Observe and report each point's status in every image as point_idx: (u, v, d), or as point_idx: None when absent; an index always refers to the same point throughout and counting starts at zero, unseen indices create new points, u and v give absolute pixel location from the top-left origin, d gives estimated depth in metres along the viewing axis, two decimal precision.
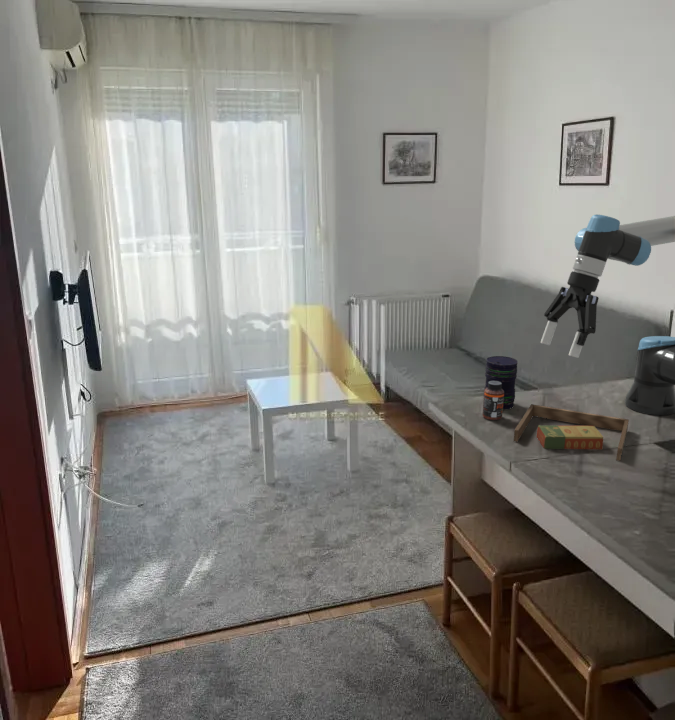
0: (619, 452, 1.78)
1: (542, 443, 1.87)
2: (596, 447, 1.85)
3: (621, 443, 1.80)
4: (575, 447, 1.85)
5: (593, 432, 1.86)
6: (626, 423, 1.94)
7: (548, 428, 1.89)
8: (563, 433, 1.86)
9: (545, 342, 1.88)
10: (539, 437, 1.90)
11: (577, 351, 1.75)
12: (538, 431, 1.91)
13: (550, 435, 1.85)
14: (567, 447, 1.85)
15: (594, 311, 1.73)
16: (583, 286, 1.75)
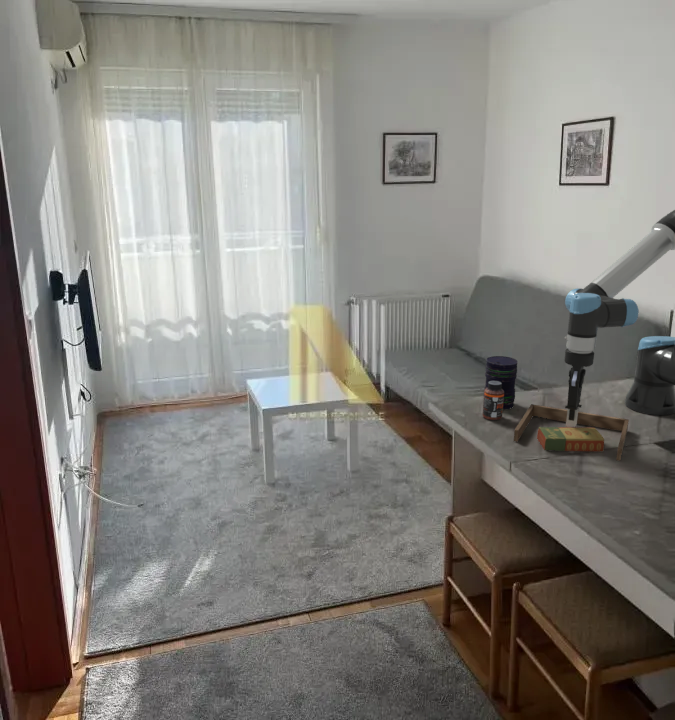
0: (619, 452, 1.78)
1: (543, 445, 1.86)
2: (597, 449, 1.84)
3: (621, 443, 1.80)
4: (576, 449, 1.84)
5: (594, 434, 1.85)
6: (626, 423, 1.94)
7: (548, 430, 1.88)
8: (564, 435, 1.85)
9: None
10: (540, 439, 1.89)
11: (572, 425, 1.91)
12: (539, 433, 1.90)
13: (551, 437, 1.84)
14: (568, 449, 1.84)
15: (575, 393, 1.84)
16: (569, 363, 1.84)
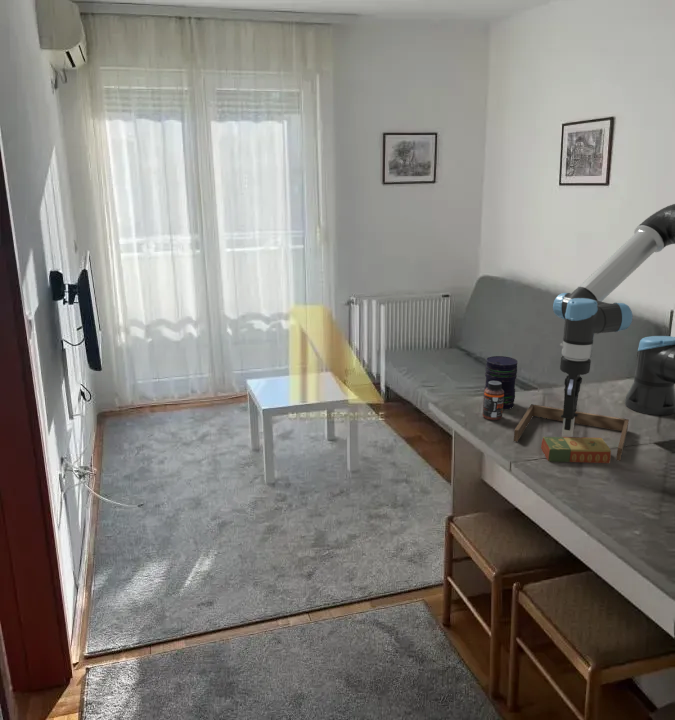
0: (619, 452, 1.78)
1: (546, 456, 1.79)
2: (603, 460, 1.77)
3: (621, 443, 1.80)
4: (581, 460, 1.77)
5: (601, 445, 1.78)
6: (626, 423, 1.94)
7: (553, 440, 1.82)
8: (569, 445, 1.78)
9: None
10: (544, 449, 1.82)
11: (568, 435, 1.84)
12: (543, 443, 1.84)
13: (555, 448, 1.77)
14: (573, 460, 1.77)
15: (571, 402, 1.78)
16: (565, 371, 1.78)
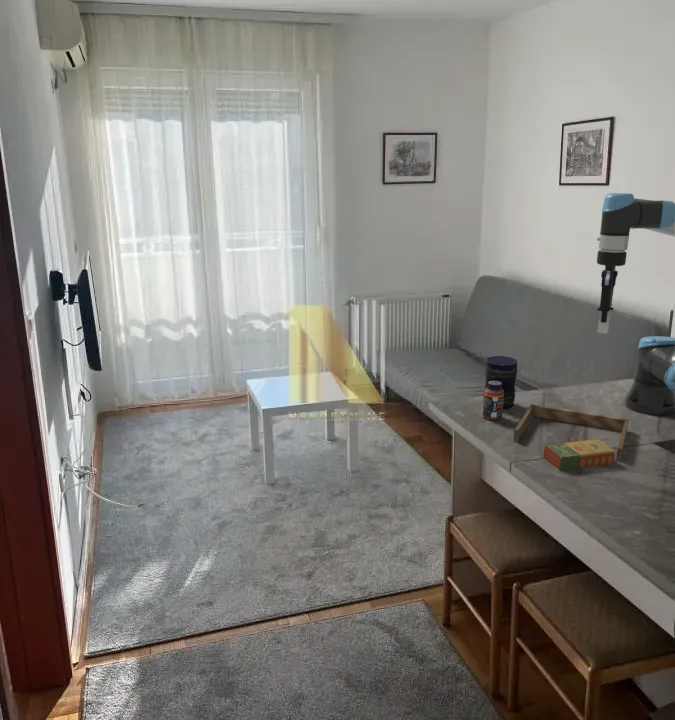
0: (619, 452, 1.78)
1: (556, 464, 1.74)
2: (608, 462, 1.76)
3: (621, 443, 1.80)
4: (589, 465, 1.75)
5: (603, 447, 1.77)
6: (626, 423, 1.94)
7: (557, 448, 1.77)
8: (575, 451, 1.75)
9: None
10: (549, 458, 1.77)
11: (604, 328, 1.93)
12: (546, 451, 1.78)
13: (565, 455, 1.73)
14: (581, 466, 1.74)
15: (608, 292, 1.86)
16: (602, 263, 1.86)
